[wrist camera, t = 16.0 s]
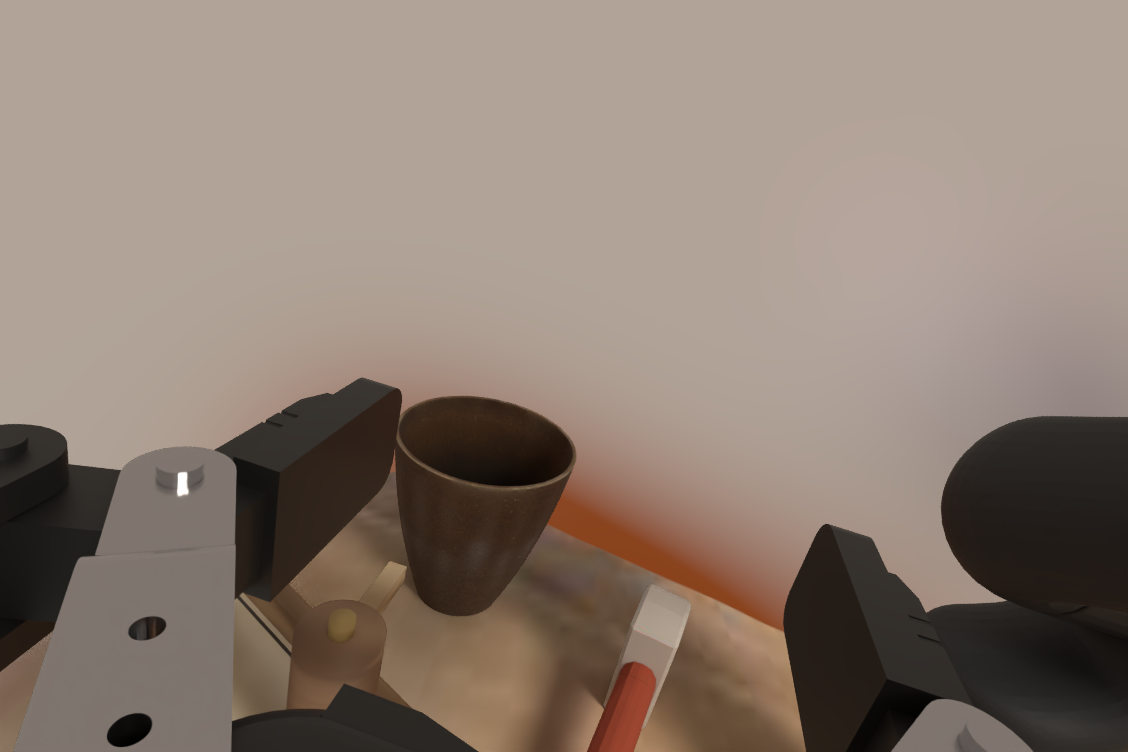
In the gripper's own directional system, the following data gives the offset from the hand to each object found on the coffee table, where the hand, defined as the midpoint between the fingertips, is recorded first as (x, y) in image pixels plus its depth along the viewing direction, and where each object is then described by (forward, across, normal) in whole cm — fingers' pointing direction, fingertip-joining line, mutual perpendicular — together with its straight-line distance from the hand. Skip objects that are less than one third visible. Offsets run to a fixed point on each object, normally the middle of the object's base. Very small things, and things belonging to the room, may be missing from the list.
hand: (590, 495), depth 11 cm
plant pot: (+34, +10, +34) cm, 49 cm away
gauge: (+17, +11, +32) cm, 38 cm away
